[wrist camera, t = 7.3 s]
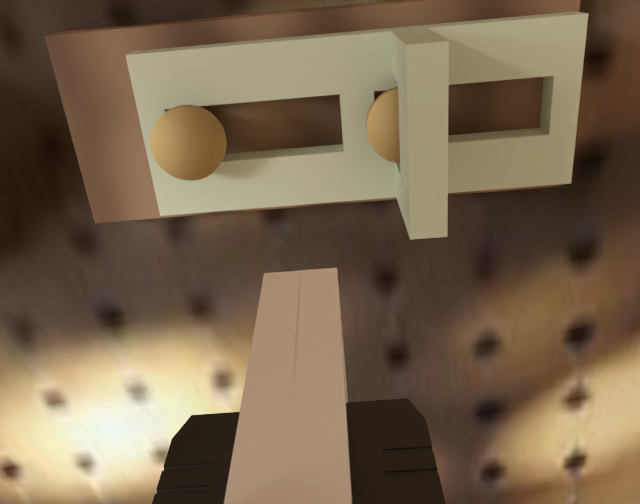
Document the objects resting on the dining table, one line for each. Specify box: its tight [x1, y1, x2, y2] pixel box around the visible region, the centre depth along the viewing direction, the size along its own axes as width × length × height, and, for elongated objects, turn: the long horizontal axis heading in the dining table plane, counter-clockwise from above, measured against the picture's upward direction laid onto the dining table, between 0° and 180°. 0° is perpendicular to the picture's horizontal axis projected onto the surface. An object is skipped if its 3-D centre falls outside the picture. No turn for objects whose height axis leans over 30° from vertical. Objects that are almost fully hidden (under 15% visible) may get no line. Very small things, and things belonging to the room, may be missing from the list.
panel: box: [125, 11, 589, 240], centre depth 27 cm, size 21×8×7 cm, turn 95°
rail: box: [44, 0, 580, 223], centre depth 30 cm, size 26×10×6 cm, turn 95°
